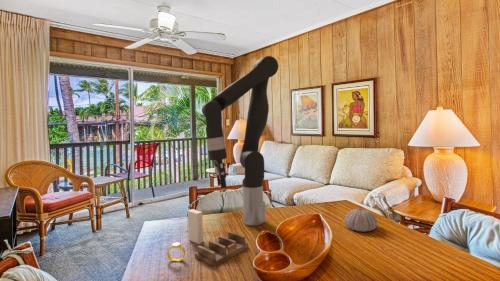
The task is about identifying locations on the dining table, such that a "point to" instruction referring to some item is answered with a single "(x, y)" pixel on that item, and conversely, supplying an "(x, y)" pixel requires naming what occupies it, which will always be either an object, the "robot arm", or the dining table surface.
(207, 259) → the rack
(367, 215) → the sea urchin shell
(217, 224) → the dining table surface
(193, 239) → the panel
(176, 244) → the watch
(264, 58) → the robot arm
